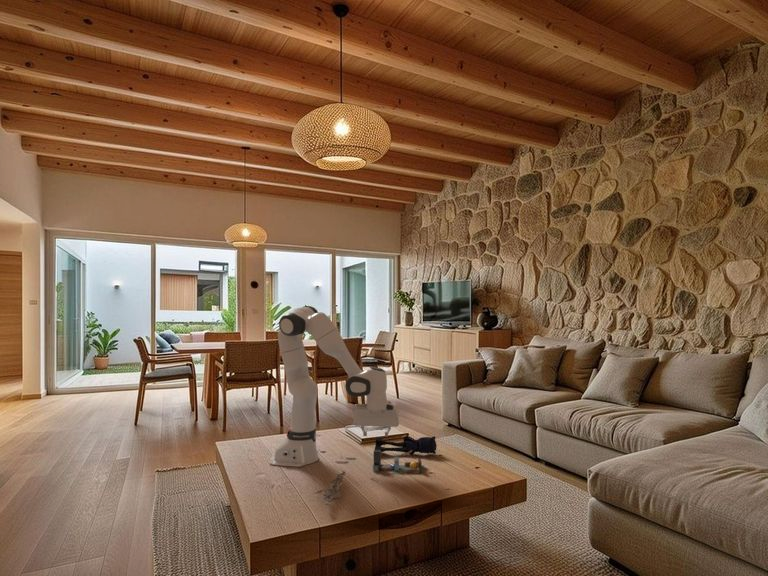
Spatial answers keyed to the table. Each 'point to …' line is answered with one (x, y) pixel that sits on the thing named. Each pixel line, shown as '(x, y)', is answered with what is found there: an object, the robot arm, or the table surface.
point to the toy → (409, 445)
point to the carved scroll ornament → (334, 488)
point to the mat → (402, 468)
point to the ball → (413, 465)
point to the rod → (385, 466)
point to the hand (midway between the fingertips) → (375, 436)
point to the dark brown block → (376, 468)
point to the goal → (407, 464)
